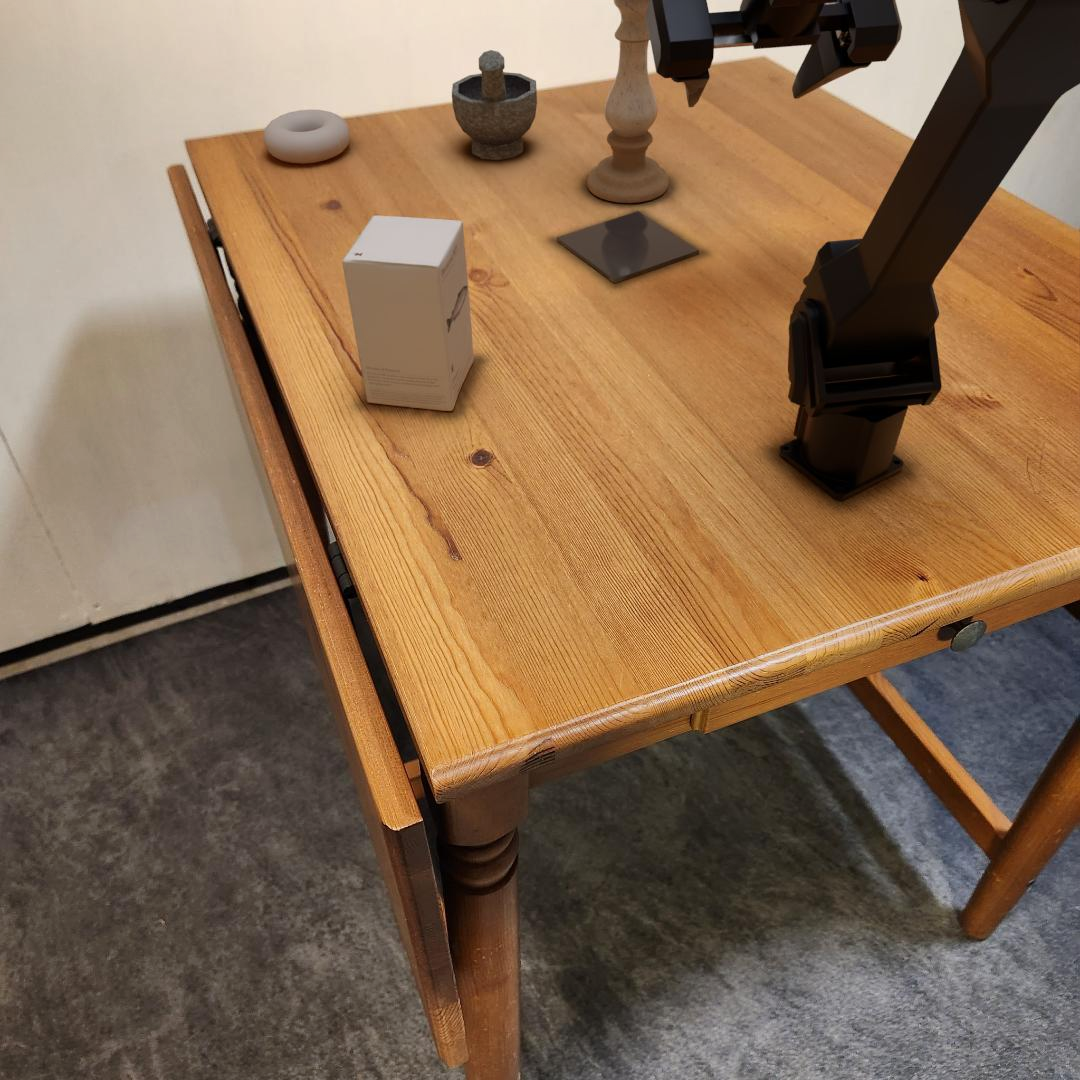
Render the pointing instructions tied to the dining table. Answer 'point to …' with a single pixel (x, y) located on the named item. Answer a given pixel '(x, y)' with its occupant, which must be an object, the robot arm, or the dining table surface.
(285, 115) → the donut
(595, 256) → the slate coaster
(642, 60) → the candle holder
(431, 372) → the white packaging box
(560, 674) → the dining table surface
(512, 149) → the mortar and pestle
